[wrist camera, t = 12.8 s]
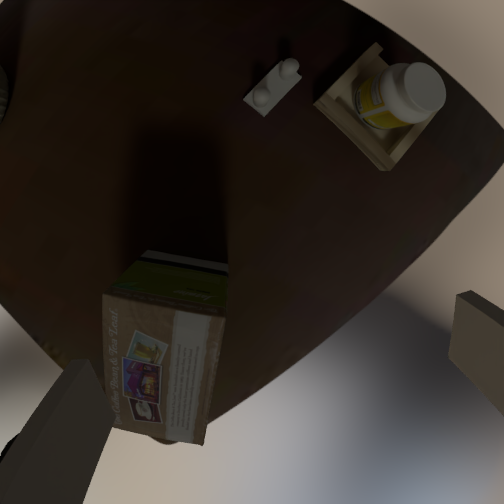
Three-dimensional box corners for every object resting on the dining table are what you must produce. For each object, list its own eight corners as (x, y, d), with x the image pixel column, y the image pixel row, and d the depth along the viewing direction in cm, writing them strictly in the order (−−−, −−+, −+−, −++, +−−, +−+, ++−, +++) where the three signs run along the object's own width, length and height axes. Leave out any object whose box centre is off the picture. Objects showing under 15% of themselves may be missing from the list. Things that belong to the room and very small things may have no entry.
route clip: (243, 100, 32) (244, 91, 28) (280, 62, 31) (286, 50, 27) (264, 117, 32) (267, 110, 29) (301, 78, 31) (308, 68, 28)
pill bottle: (406, 114, 32) (462, 102, 22) (372, 140, 33) (424, 133, 22) (377, 71, 31) (426, 45, 20) (341, 95, 31) (383, 71, 21)
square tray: (380, 170, 34) (389, 170, 32) (313, 104, 32) (318, 99, 30) (427, 112, 33) (438, 109, 30) (367, 48, 31) (376, 41, 28)
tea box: (212, 367, 40) (204, 450, 26) (139, 353, 39) (104, 428, 25) (231, 260, 37) (227, 319, 22) (146, 245, 36) (95, 293, 21)
